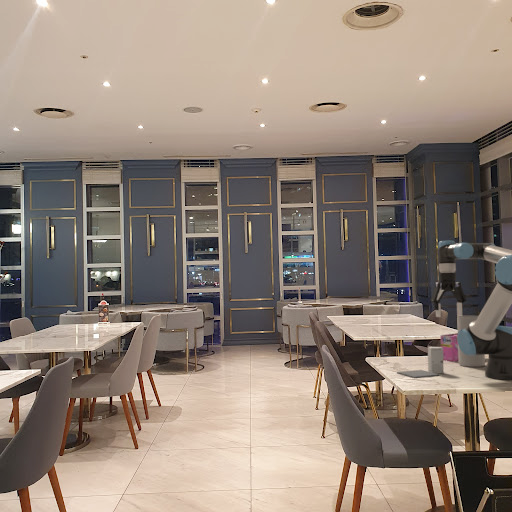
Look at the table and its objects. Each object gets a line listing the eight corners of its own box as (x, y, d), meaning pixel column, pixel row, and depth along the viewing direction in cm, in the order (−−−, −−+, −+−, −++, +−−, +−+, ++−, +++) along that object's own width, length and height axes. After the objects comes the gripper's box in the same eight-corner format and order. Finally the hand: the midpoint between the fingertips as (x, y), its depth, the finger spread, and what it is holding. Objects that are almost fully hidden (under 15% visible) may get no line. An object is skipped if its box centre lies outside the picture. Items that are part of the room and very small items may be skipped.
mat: (439, 375, 240) (439, 374, 240) (414, 378, 235) (414, 376, 235) (421, 371, 252) (421, 369, 252) (397, 373, 247) (396, 372, 247)
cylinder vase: (490, 366, 261) (488, 316, 262) (467, 367, 259) (465, 317, 260) (476, 362, 273) (474, 315, 274) (454, 363, 271) (452, 315, 272)
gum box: (466, 355, 298) (465, 332, 299) (479, 357, 292) (478, 333, 292) (440, 359, 285) (439, 335, 285) (453, 361, 278) (452, 336, 279)
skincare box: (431, 373, 244) (430, 348, 245) (427, 372, 249) (427, 346, 249) (444, 373, 245) (443, 347, 245) (440, 371, 249) (439, 346, 250)
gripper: (461, 272, 260) (463, 315, 259) (421, 272, 252) (423, 317, 251) (473, 271, 253) (474, 315, 252) (432, 272, 245) (433, 318, 243)
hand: (449, 316), depth 251 cm, fingers open, 12 cm apart
